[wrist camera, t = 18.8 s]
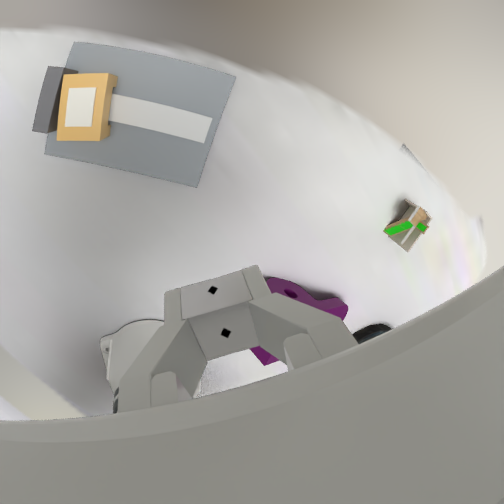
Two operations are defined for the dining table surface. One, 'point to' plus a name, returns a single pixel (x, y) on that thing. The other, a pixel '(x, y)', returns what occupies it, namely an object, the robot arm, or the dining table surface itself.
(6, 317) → the dining table surface
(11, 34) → the dining table surface
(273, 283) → the mounting bracket
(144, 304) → the dining table surface
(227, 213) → the dining table surface
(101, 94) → the module
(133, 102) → the backplate
